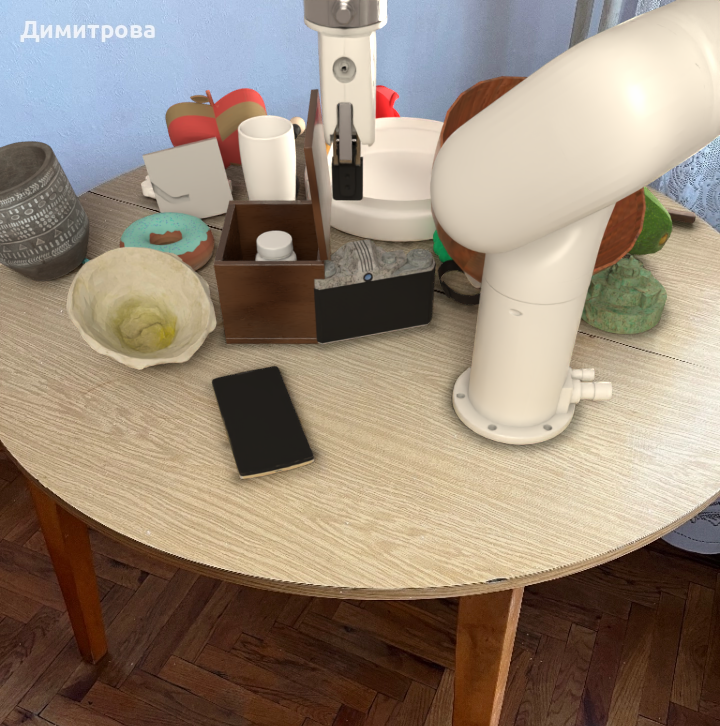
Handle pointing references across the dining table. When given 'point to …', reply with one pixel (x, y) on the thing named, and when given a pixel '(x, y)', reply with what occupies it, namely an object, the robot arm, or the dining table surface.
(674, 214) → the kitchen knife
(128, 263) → the bowl
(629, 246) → the bowl
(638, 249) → the fruit
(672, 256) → the dining table surface
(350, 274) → the camera
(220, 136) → the decorative object
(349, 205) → the plate
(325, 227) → the lid
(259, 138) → the white tumbler cup
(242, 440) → the smartphone
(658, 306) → the decorative artifact
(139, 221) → the donut
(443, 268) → the watch
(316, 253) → the chest
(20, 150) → the planter
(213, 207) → the grey square panel
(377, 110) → the cap
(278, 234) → the supplement bottle
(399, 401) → the dining table surface
